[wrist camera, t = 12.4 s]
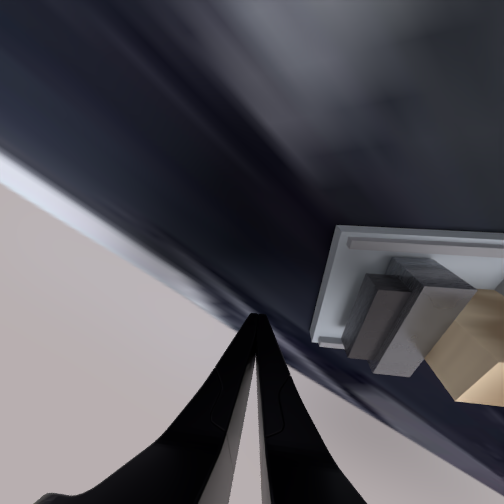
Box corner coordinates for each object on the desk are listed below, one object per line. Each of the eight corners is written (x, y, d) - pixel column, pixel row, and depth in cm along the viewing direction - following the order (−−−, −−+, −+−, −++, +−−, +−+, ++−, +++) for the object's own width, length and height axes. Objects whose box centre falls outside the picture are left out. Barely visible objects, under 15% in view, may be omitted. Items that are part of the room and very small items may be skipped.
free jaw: (433, 259, 12) (478, 290, 9) (387, 339, 16) (409, 377, 13) (363, 255, 12) (387, 283, 10) (335, 334, 16) (347, 370, 14)
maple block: (494, 289, 13) (627, 374, 8) (464, 325, 14) (558, 413, 10) (416, 284, 13) (498, 362, 8) (396, 319, 15) (454, 400, 10)
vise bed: (564, 236, 12) (705, 278, 8) (464, 345, 17) (520, 402, 13) (336, 224, 13) (362, 257, 9) (309, 330, 18) (319, 379, 14)
